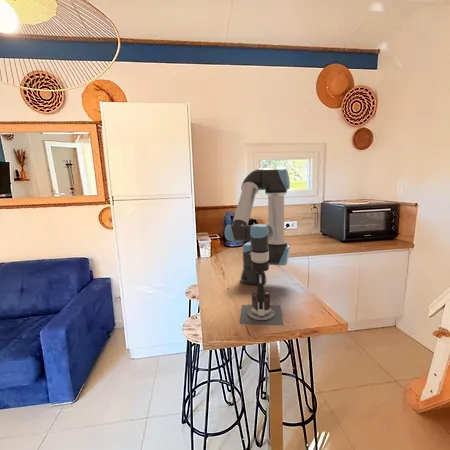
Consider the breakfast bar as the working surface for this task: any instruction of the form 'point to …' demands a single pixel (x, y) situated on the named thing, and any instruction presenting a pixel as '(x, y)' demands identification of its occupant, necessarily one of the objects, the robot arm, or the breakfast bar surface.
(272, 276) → the breakfast bar surface
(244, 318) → the mat
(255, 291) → the box
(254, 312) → the metal bowl
